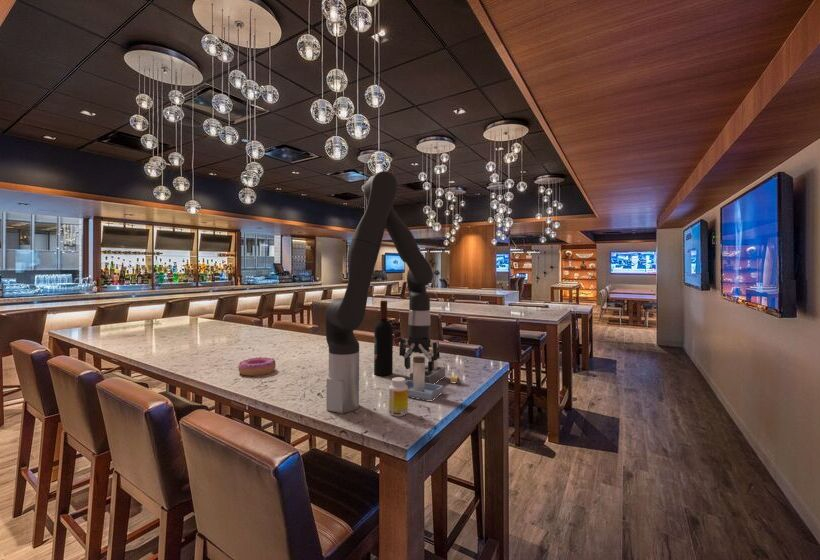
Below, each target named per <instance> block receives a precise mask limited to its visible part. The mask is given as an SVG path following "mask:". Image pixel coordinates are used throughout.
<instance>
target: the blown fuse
mask: <svg viewBox="0 0 820 560" xmlns="http://www.w3.org/2000/svg"><path fill="white" fill-rule="evenodd" d="M412 363H413V364H412V373H413V390H415V391H420V392H425V366H426V356H421V355H417V356H413V358H412Z"/></svg>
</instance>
